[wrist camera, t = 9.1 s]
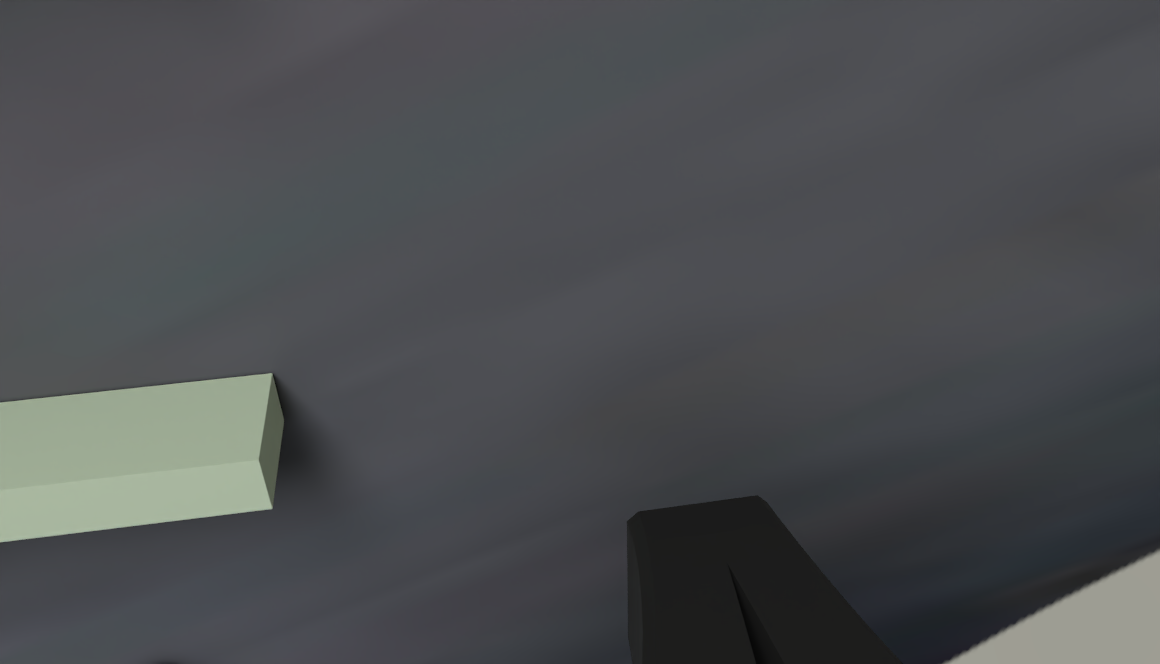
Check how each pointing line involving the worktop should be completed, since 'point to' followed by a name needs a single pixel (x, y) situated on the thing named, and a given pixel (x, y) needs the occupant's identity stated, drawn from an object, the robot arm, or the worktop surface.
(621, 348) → the worktop surface
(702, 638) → the robot arm
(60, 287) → the worktop surface
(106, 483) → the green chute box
